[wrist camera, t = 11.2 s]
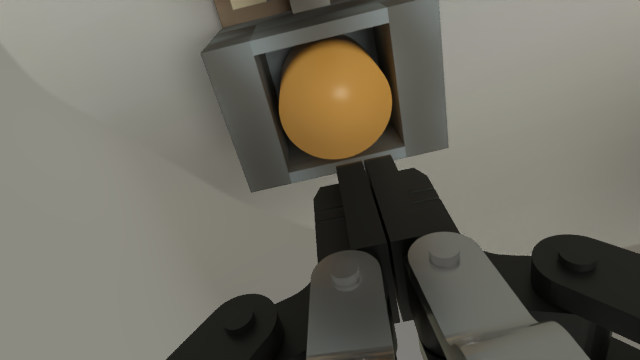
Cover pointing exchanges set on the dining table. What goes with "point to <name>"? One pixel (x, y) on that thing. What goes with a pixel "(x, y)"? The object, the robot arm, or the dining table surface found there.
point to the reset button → (333, 98)
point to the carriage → (245, 3)
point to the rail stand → (310, 25)
